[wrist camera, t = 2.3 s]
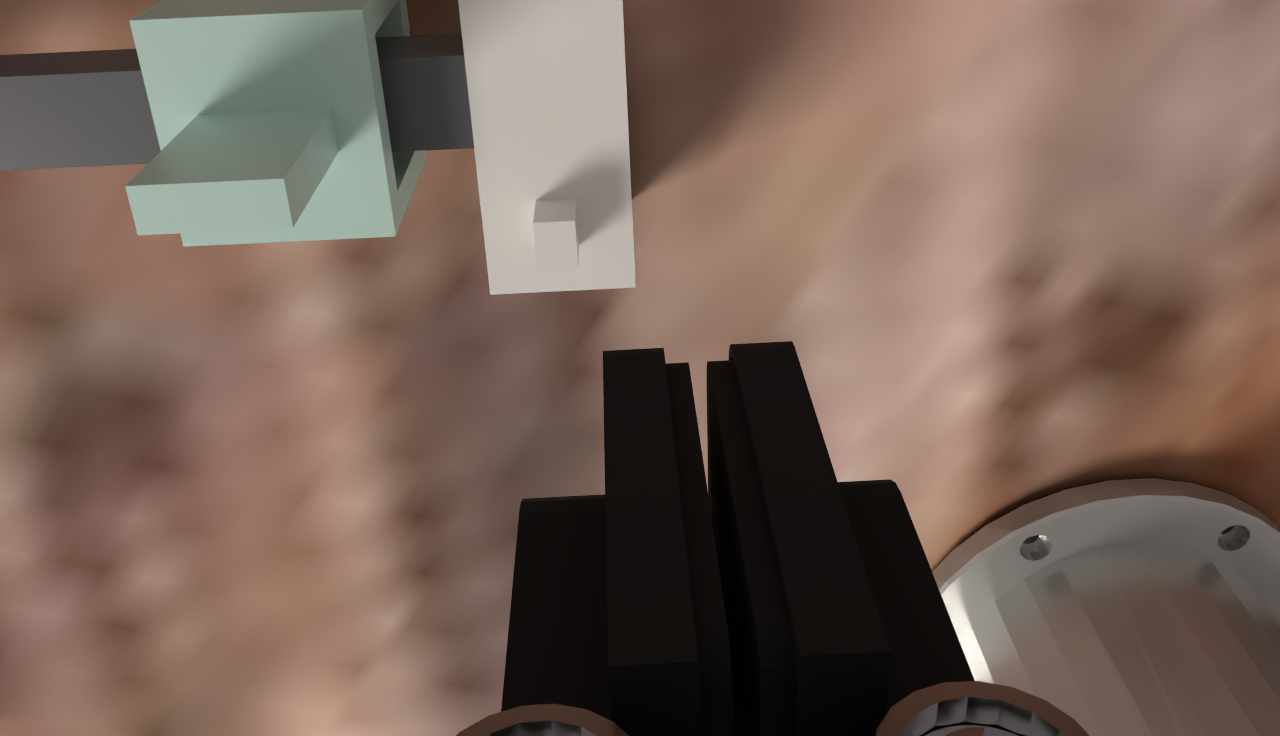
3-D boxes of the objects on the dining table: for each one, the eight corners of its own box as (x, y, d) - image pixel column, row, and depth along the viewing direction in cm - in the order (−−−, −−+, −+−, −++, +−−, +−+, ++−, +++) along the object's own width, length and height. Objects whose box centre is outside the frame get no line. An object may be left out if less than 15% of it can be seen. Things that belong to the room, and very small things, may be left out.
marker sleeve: (400, -39, 25) (317, 64, 17) (426, 157, 27) (361, 323, 19) (206, -30, 25) (41, 77, 17) (246, 166, 27) (113, 335, 19)
